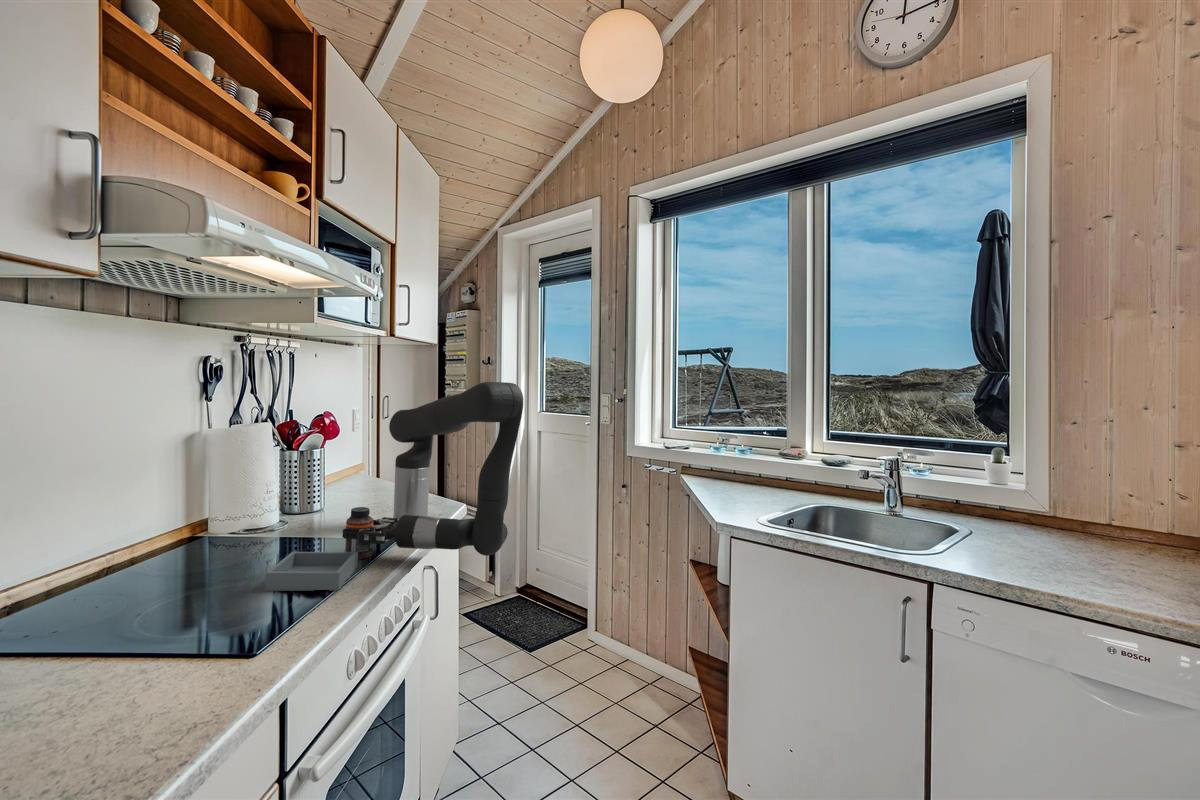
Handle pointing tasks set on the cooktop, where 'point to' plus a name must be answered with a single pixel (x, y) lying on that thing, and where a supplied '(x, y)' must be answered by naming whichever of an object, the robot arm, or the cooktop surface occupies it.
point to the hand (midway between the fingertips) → (351, 528)
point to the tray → (311, 571)
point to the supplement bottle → (359, 521)
